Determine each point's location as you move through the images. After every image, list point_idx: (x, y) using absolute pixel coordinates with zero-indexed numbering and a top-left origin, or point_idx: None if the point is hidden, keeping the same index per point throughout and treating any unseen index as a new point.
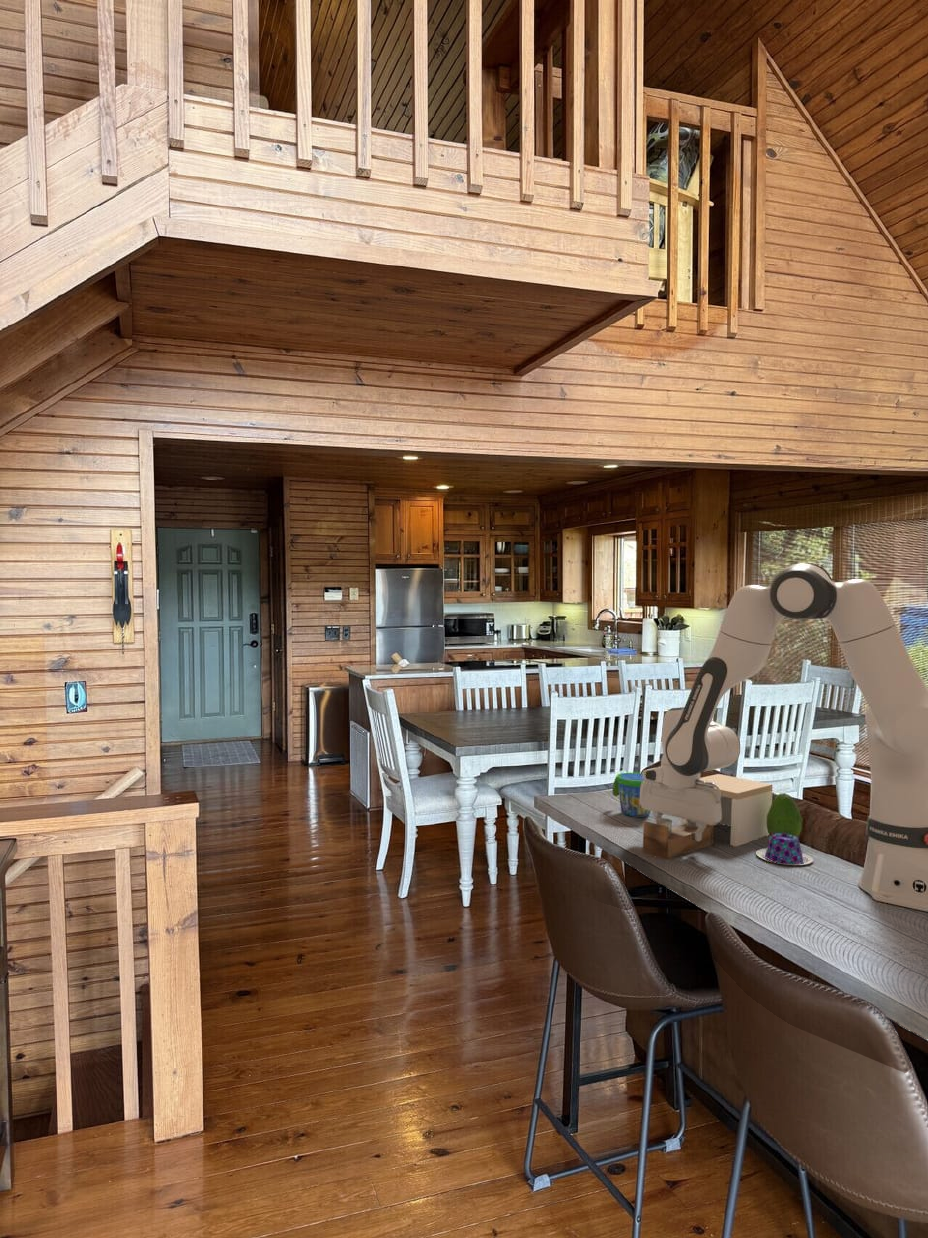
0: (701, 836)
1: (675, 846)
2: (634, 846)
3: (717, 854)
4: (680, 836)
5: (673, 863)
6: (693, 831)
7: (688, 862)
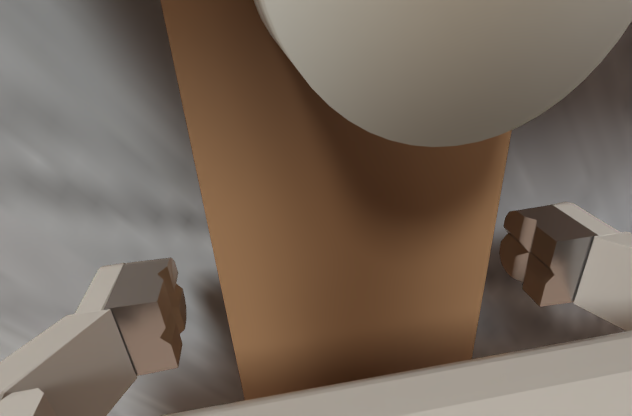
0: (589, 215)
1: None
2: (143, 395)
3: None
4: None
5: None
6: (463, 157)
7: (511, 332)
